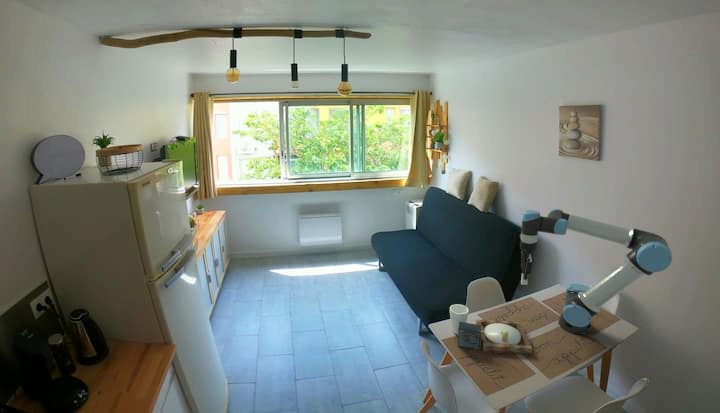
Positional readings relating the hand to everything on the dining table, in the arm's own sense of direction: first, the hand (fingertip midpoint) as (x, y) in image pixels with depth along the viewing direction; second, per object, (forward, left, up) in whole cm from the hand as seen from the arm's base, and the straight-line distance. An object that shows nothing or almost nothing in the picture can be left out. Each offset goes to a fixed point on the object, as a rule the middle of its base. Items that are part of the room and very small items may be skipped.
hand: (524, 284), depth 191 cm
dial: (+12, +13, -23) cm, 29 cm away
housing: (+12, +13, -24) cm, 30 cm away
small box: (+29, +19, -25) cm, 43 cm away
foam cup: (+33, +8, -25) cm, 42 cm away
